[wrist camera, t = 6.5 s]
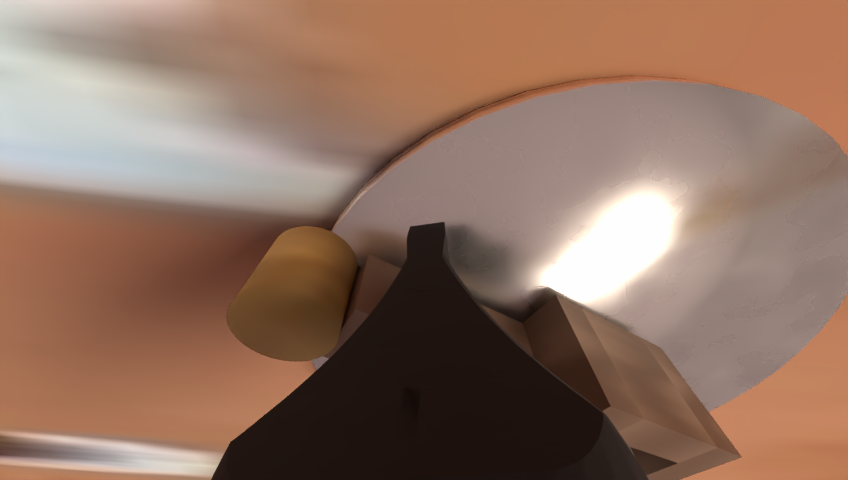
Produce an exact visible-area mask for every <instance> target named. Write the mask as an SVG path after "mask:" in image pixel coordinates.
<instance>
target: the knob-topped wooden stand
mask: <svg viewBox="0 0 848 480" xmlns="http://www.w3.org/2000/svg"><path fill="white" fill-rule="evenodd" d="M357 267H358V265H357V258H356V256H355V253H354V251H353V250H352V248H351V247H350V245H349V244H348V243H347V242H346V241H345V240H343V239H342V238H341V237H339V236H338V235H336V234H335V233H333V232H331V231H328V230H326V229H322V228H319V227H313V226H300V227H295V228H291V229H289V230H287V231H285V232H283V233H282V234H281V235H279V236H278V238H277V239H276V240H275V242H274V243H273V244H272V246H271V247H270V249H269V250H268V252H267V253H266V254H265V256H264V257H263V259H262V260H261V262H260V263H259V265H258V266H257V267H256V269H255V270H254V272H253V273H252V275H251V276H250V277H249V279H248V280H247V282H246V283H245V285H244V286H243V287H242V289H241V290H240V292H239V293H238V295H237V296H236V297H235V299H234V300H233V302H232V303H231V305H230V306H229V308H228V311H227V322H228V325H229V328H230V330H231V331H232V333H233V334H234V335H235V337H236V338H237V339H238V340H239V341H240V342H242V343H243V344H244V345H246V346H247V347H249V348H250V349H252V350H254V351H256V352H258V353H260V354H262V355H265V356H268V357H271V358H274V359H279V360H285V361H308V360H313V359H317V358H320V357H322V356H323V357H326V358H330V357H331V356H332V355H333V354H334V353H335V352H336V351H337V350H338V349H339V348H340V347H341V346H342V345H343V344H344V343H345V342H346V341H347V340H348V339H349V337H350V336H351V335H352V334H353V333H354V332H355V331H356V329H357V328H358V327H359V326H360V325H361V324H362V323H363V322H364V320H365V319H366V318H367V317H368V315H369V314H370V313H371V312H372V310H373V309H374V308H375V307H376V305H377V304H378V303H379V301H380V300H381V299H382V297H383V296H384V294H385V293H386V292H387V290H388V289H389V287H390V286H391V284H392V282H393V281H394V279H395V278H396V276H397V275H398V273H399V272H400V270H401V268H398V267H396V266H394V265H392V264H390V263H387V262H385V261H383V260H381V259H378V258H376V257H374V256H372V255H370V254H369V255H368V256H367V258H366V259H365V261H364V263H363V264H362V266H361V268H360V269H359V271H358V272H357ZM356 272H357V274H356ZM480 305H481V304H480ZM481 306H482V307H483V308H484V309H485V310H486V311H487V312H488V313H489V314H490V316H491V317H492V318H493V319H494V320H495V321H496V322H497V323H498V324H499V325H500V326H501V327H502V328H503V329H504V330H505V331H506V332H507V333H508V334H510V335H511V336H512V337H513V338H514V339H515V340H516V341H517V342H518V343H519V344H520V345H521V346H522V347H523V348H524V349H525V350H526V351H528V352H529V353H530V354H531V355H532V356H533V357H535V358H536V359H537V360H538V361H539V362H540V363H542V364H543V365H544V366H545V367H546V368H548V369H549V370H550V371H551V372H552V373H553V374H555V375H556V376H557V377H559V378H560V379H561V380H562V381H564V382H565V383H566V384H567V385H569V386H570V387H571V388H572V389H574V390H575V391H576V392H578V393H579V394H580V395H582V396H583V397H584V398H586V399H587V400H588V401H590V402H591V403H592V404H593V405H595V406H596V407H597V408H599V409H600V410H601V411H603V412H604V413H605V414H606V415H607V417H608V418H609V419H610V421H611V422H612V423H613V425H614V426H615V428H616V429H617V431H618V432H619V433H620V435H621V436H622V438H623V439H624V441H625V442H626V444H627V445H628V446H629V447H630V448H631V450H632V452H633V454H634V456H635V458H636V459H637V461H638V463H639V464H640V466H641V467H642V469H643V471H644V472H645V474H646V476H647V478H648V479H649V480H680V479H683V478H685V477H688V476H691V475H694V474H697V473H699V472H702V471H705V470H708V469H711V468H713V467H716V466H719V465H722V464H725V463H727V462H730V461H733V460H736V459H738V458H741V455H740V454H739V452H738V451H737V450H736V448H735V447H734V446H733V444H732V443H731V442H730V440H729V439H728V438H727V436H726V435H725V434H724V432H723V431H722V430H721V428H720V427H719V425H718V424H717V423H716V421H715V420H714V419H713V417H712V416H711V415H710V413H709V412H708V411H707V409H706V408H705V407H704V405H703V404H702V403H701V401H700V400H699V398H698V397H697V396H696V394H695V393H694V392H693V390H692V389H691V388H690V386H689V385H688V384H687V382H686V381H685V380H684V378H683V377H682V375H681V374H680V373H679V371H678V370H677V369H676V367H675V366H674V365H673V363H672V362H671V361H670V359H669V358H668V357H667V355H666V354H665V353H664V351H663V350H662V348H661V347H659V346H657V345H655V344H653V343H651V342H649V341H647V340H645V339H643V338H641V337H639V336H637V335H635V334H633V333H631V332H629V331H627V330H625V329H623V328H621V327H619V326H617V325H615V324H613V323H611V322H609V321H607V320H605V319H603V318H601V317H599V316H597V315H595V314H593V313H591V312H589V311H587V310H585V309H583V308H581V307H579V306H577V305H575V304H573V303H571V302H569V301H567V300H565V299H563V298H561V297H560V296H558V295H555V296H554V297H552V298H551V299H550V300H549V301H548V302H547V303H545V304H544V305H543V306H542V307H541V308H540V309H538V310H537V311H536V312H535V313H534V314H533V315H531V316H530V317H529V318H528V319H527V320H526V321H525V322H523V323H521V322H519V321H517V320H514V319H512V318H510V317H508V316H505V315H503V314H501V313H499V312H497V311H494V310H492V309H490V308H488V307H485V306H483V305H481Z"/></svg>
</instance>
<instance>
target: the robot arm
mask: <svg viewBox="0 0 848 480" xmlns="http://www.w3.org/2000/svg"><path fill="white" fill-rule="evenodd" d="M211 480H649V479H648V478H647V476H646V474H645V472H644V471H643V469H642V467H641V466H640V464H639V463H638V461H637V459H636V458H635V456H634V455H633V453H632V451H631V450H630V448H629V447H628V445H627V444H626V442H625V441H624V439H623V438H622V436H621V435H620V433H619V432H618V431H617V429H616V428H615V426H614V425H613V423H612V422H611V421H610V419H609V418H608V417H607V415H606V414H605V413H604V412H603V411H601V410H600V409H599V408H597V407H596V406H595V405H593V404H592V403H591V402H590V401H588V400H587V399H586V398H584V397H583V396H582V395H580V394H579V393H578V392H576V391H575V390H574V389H572V388H571V387H570V386H569V385H567V384H566V383H565V382H564V381H562V380H561V379H560V378H559V377H557V376H556V375H555V374H553V373H552V372H551V371H550V370H549V369H548V368H546V367H545V366H544V365H543V364H542V363H540V362H539V361H538V360H537V359H536V358H535V357H533V356H532V355H531V354H530V353H529V352H528V351H526V350H525V349H524V348H523V347H522V346H521V345H520V344H519V343H518V342H517V341H516V340H515V339H514V338H513V337H512V336H511V335H510V334H508V333H507V332H506V331H505V330H504V329H503V328H502V327H501V326H500V325H499V324H498V323H497V322H496V321H495V320H494V319H493V318H492V317H491V316H490V314H489V313H488V312H487V311H486V310H485V309H484V308H483V307H482V306H481V305H480V303H479V302H478V301H477V300H476V299H475V298H474V296H473V295H472V294H471V293H470V291H469V290H468V289H467V287H466V286H465V285H464V283H463V282H462V281H461V279H460V278H459V276H458V275H457V274H456V272H455V271H454V269H453V267H452V266H451V262H450V256H449V249H448V242H447V235H446V228H445V222H439V223H431V224H424V225H417V226H410V228H409V231H408V235H407V259H406V261H405V263H404V265H403V267H402V268H401V270H400V272H399V273H398V275H397V276H396V278H395V279H394V281H393V282H392V284H391V286H390V287H389V289H388V290H387V292H386V293H385V294H384V296H383V297H382V299H381V300H380V301H379V303H378V304H377V305H376V307H375V308H374V309H373V310H372V312H371V313H370V314H369V315H368V317H367V318H366V319H365V320H364V322H363V323H362V324H361V325H360V326H359V327H358V328H357V329H356V331H355V332H354V333H353V334H352V335H351V336H350V337H349V339H348V340H347V341H346V342H345V343H344V344H343V345H342V346H341V347H340V348H339V349H338V350H337V351H336V352H335V353H334V354H333V355H332V356H331V357H330V358H329V359H328V360H327V361H326V362H325V363H324V364H323V365H322V366H321V367H320V368H319V369H318V370H316V371H315V372H314V373H313V374H312V375H311V376H310V377H309V378H308V379H307V380H306V381H304V382H303V383H302V384H301V385H300V386H299V387H298V388H297V389H295V390H294V391H293V392H292V393H291V394H290V395H289V396H287V397H286V398H285V399H284V400H283V401H281V402H280V403H279V404H278V405H276V406H275V407H274V408H273V409H271V410H270V411H269V412H268V413H267V414H265V415H264V416H263V417H262V418H260V419H259V420H258V421H257V422H255V423H254V424H253V425H252V426H251V427H249V428H248V429H247V430H246V431H244V432H243V433H242V434H241V435H239V436H238V437H237V438H235V439H234V440H233V441H231V442H230V444H229V446H228V448H227V450H226V452H225V453H224V455H223V457H222V459H221V461H220V463H219V465H218V467H217V469H216V471H215V473H214V475H213V477H212V479H211Z"/></svg>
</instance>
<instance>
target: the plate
mask: <svg viewBox="0 0 848 480" xmlns="http://www.w3.org/2000/svg"><path fill="white" fill-rule="evenodd" d="M439 222H445V228H446V235H447V242H448V249H449V256H450V262H451V266H452V267H453V269H454V271H455V272H456V274H457V275H458V276H459V278H460V279H461V281H462V282H463V283H464V285H465V286H466V287H467V289H468V290H469V291H470V293H471V294H472V295H473V296H474V298H475V299H476V300H477V301H478V302H479V303H480V304H481V305H483V306H485V307H488V308H490V309H492V310H494V311H497V312H499V313H501V314H503V315H505V316H508V317H510V318H512V319H514V320H517V321H519V322H521V323H523V322H525V321H526V320H527V319H528V318H529V317H530V316H531V315H533V314H534V313H535V312H536V311H537V310H538V309H540V308H541V307H542V306H543V305H544V304H545V303H547V302H548V301H549V300H550V299H551V298H552V297H554V296H555V295H558V296H560V297H561V298H563V299H565V300H567V301H569V302H571V303H573V304H575V305H577V306H579V307H581V308H583V309H585V310H587V311H589V312H591V313H593V314H595V315H597V316H599V317H601V318H603V319H605V320H607V321H609V322H611V323H613V324H615V325H617V326H619V327H621V328H623V329H625V330H627V331H629V332H631V333H633V334H635V335H637V336H639V337H641V338H643V339H645V340H647V341H649V342H651V343H653V344H655V345H657V346H659V347H661V348H662V350H663V351H664V353H665V354H666V355H667V357H668V358H669V359H670V361H671V362H672V363H673V365H674V366H675V367H676V369H677V370H678V371H679V373H680V374H681V375H682V377H683V378H684V380H685V381H686V382H687V384H688V385H689V386H690V388H691V389H692V390H693V392H694V393H695V394H696V396H697V397H698V398H699V400H700V401H701V403H702V404H703V405H704V407H705V408H706V409H707V411H708V412H709V411H711V410H713V409H715V408H717V407H719V406H721V405H723V404H725V403H727V402H729V401H730V400H732V399H734V398H736V397H737V396H739V395H741V394H742V393H744V392H746V391H747V390H749V389H751V388H752V387H754V386H755V385H757V384H758V383H760V382H761V381H763V380H764V379H765V378H767V377H768V376H770V375H771V374H773V373H774V372H776V371H777V370H778V369H779V368H781V367H782V366H783V365H784V364H785V363H787V362H788V361H789V360H790V359H791V358H793V357H794V356H795V355H796V354H797V353H799V352H800V351H801V350H802V349H803V348H804V347H805V346H806V345H807V344H808V343H809V342H810V341H811V340H812V339H813V338H814V337H815V336H816V335H817V334H818V333H819V332H820V331H821V329H822V328H823V327H824V325H825V324H826V323H827V322H828V320H829V319H830V318H831V317H832V315H833V314H834V313H835V312H836V310H837V309H838V308H839V306H840V304H841V303H842V301H843V299H844V298H845V296H846V294H847V293H848V157H847V155H846V154H845V153H844V151H843V150H842V149H841V147H840V146H839V145H838V143H837V142H836V141H835V140H834V138H832V137H831V136H830V135H828V134H827V133H826V132H824V131H823V130H822V129H820V128H819V127H818V126H817V125H815V124H814V123H813V122H811V121H810V120H809V119H807V118H806V117H805V116H803V115H802V114H800V113H798V112H795V111H793V110H791V109H789V108H786V107H784V106H782V105H780V104H778V103H775V102H773V101H771V100H769V99H767V98H764V97H762V96H759V95H754V94H750V93H746V92H742V91H737V90H733V89H729V88H725V87H720V86H716V85H712V84H707V83H702V82H697V81H692V80H687V79H678V78H663V77H647V76H620V77H608V78H596V79H583V80H576V81H571V82H567V83H562V84H558V85H553V86H549V87H544V88H540V89H535V90H530V91H526V92H523V93H520V94H518V95H515V96H512V97H509V98H506V99H504V100H501V101H498V102H495V103H493V104H490V105H487V106H484V107H481V108H479V109H476V110H474V111H472V112H470V113H468V114H466V115H464V116H462V117H460V118H458V119H456V120H454V121H452V122H451V123H449V124H447V125H445V126H443V127H441V128H439V129H437V130H435V131H433V132H431V133H430V134H428V135H427V136H425V137H424V138H422V139H421V140H420V141H418V142H417V143H415V144H414V145H412V146H411V147H409V148H408V149H406V150H405V151H404V152H402V153H401V154H399V155H398V156H396V157H395V158H394V159H392V160H391V161H390V162H389V163H388V164H387V165H386V166H385V167H384V168H383V169H381V170H380V171H379V172H378V173H377V174H376V175H375V176H374V177H373V178H372V179H371V180H369V181H368V182H367V183H366V184H365V185H364V186H363V187H362V188H361V190H360V191H359V192H358V193H357V195H356V196H355V197H354V198H353V199H352V201H351V202H350V203H349V204H348V206H347V207H346V208H345V209H344V211H343V212H342V213H341V214H340V216H339V218H338V219H337V221H336V223H335V225H334V226H333V228H332V230H331V232H333V233H335V234H336V235H338V236H339V237H341V238H342V239H343V240H345V241H346V242H347V243H348V244H349V245H350V247H351V248H352V250H353V251H354V253H355V256H356V258H357V265H358V267H357V272H358V271H359V269H360V268H361V266H362V264H363V263H364V261H365V259H366V258H367V256H368V255H369V254H370V255H372V256H374V257H376V258H378V259H381V260H383V261H385V262H387V263H390V264H392V265H394V266H396V267H398V268H402V267H403V265H404V263H405V261H406V259H407V235H408V231H409V228H410V226H417V225H424V224H431V223H439ZM357 272H356V274H357ZM328 359H329V358H326V357H323V356H322V357H320V358H317V359H313V360H312V362H313V364H314V366H315V368H316V370H318V369H319V368H320V367H321V366H322V365H323V364H324V363H325V362H326V361H327V360H328Z"/></svg>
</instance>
